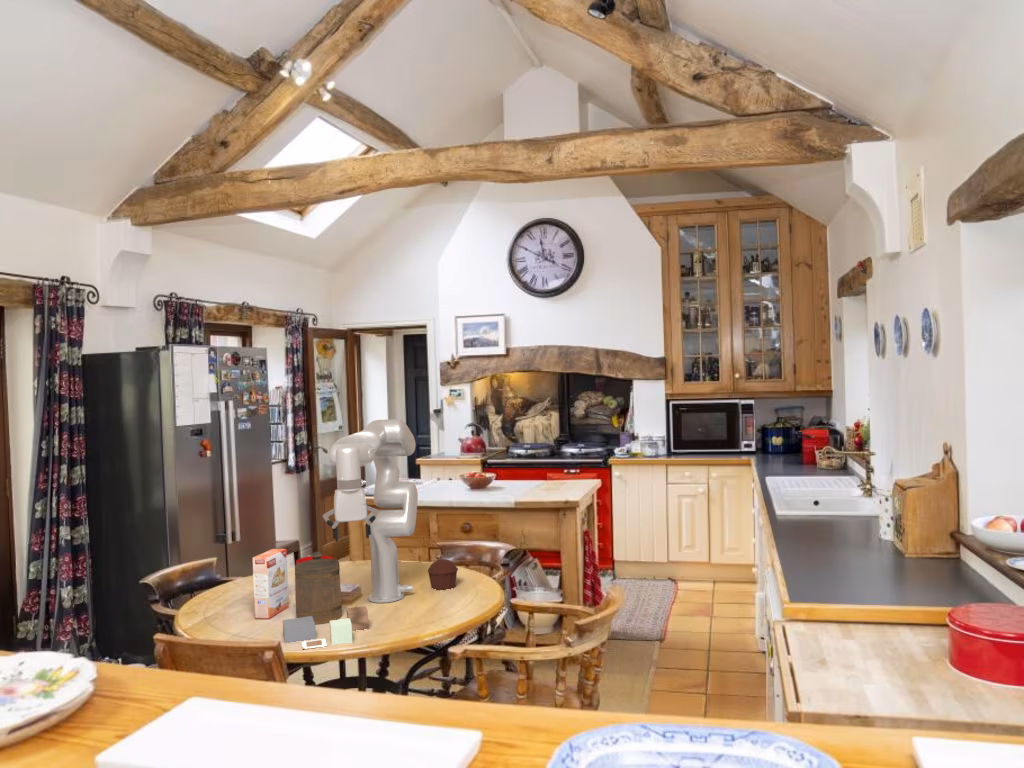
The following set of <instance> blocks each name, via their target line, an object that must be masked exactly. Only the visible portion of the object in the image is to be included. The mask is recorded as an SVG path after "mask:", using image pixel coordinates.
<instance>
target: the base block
mask: <svg viewBox="0 0 1024 768" xmlns="http://www.w3.org/2000/svg"><path fill="white" fill-rule="evenodd" d="M282 634H283V635H282V636H283V640H284V644H285V643H289V644H291V643H290V642H296V641H302V642H303V641H304V640H309V641H310V640H311V639H315V640H317V636H316V635H317V634H316V624H315V622H314V620H313V617H312V616H308V617H301V618H289V619H283V620H282ZM296 643H297V642H296Z"/></svg>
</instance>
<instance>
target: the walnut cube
mask: <svg viewBox="0 0 1024 768" xmlns="http://www.w3.org/2000/svg"><path fill="white" fill-rule="evenodd" d="M367 608H368V607H366V605H362V606H355V607H347V608H346V618H350V621H351V624H352V631H355V632H357V631H356V630H363V631H365V630H364V629H369V613H368V609H367Z"/></svg>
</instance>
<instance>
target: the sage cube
mask: <svg viewBox="0 0 1024 768" xmlns="http://www.w3.org/2000/svg"><path fill="white" fill-rule="evenodd" d="M329 633H330V644H331V643H332V644H331V646H332V645H335V644H342V643H352V644H353V632H352V624H351V621H350V618H347V617H346V618H339V619H337V620H332V621H330V622H329Z"/></svg>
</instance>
